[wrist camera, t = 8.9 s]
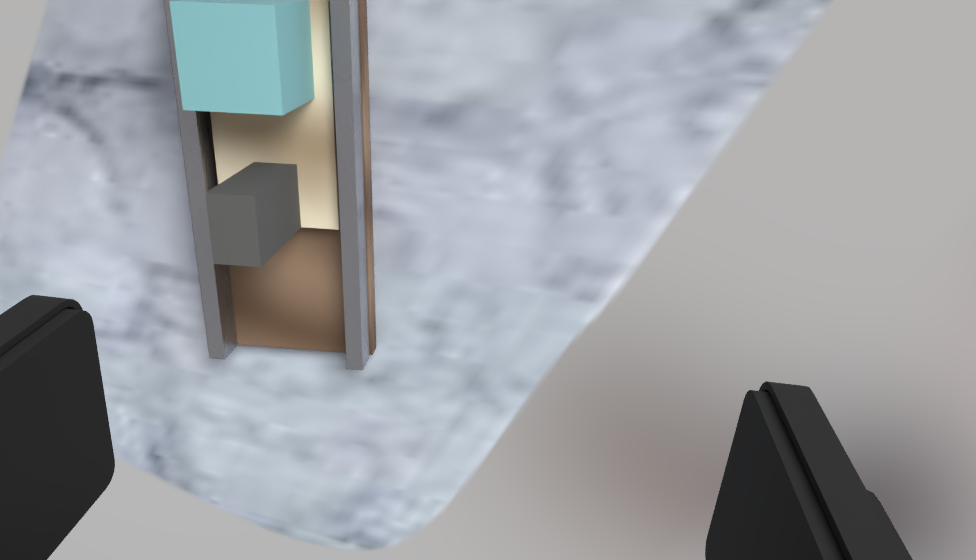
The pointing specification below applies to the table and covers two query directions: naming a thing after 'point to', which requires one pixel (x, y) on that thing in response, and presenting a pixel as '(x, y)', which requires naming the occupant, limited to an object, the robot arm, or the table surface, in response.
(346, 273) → the board
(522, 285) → the table surface
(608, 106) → the table surface
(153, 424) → the table surface
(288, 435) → the table surface
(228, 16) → the cube
